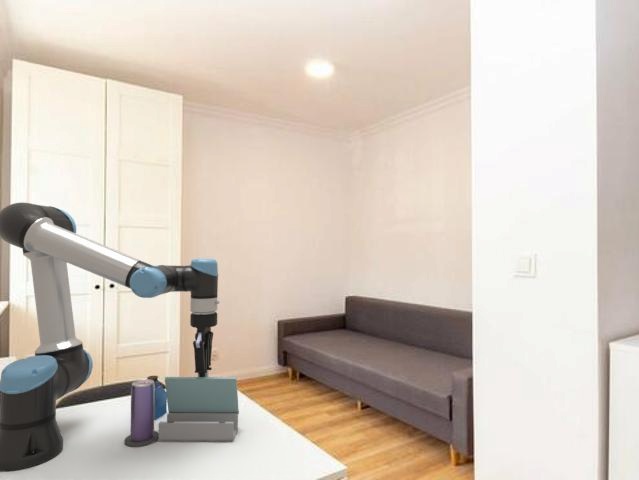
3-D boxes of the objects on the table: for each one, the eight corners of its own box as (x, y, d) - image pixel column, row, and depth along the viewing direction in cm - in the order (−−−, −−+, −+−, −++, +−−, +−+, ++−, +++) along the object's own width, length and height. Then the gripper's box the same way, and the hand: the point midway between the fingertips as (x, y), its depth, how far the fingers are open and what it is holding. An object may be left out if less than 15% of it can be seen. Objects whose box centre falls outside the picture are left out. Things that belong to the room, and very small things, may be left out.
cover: (164, 378, 114) (165, 376, 115) (168, 415, 117) (170, 412, 118) (235, 378, 114) (236, 376, 115) (238, 415, 117) (238, 412, 118)
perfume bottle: (166, 412, 130) (167, 374, 130) (155, 420, 124) (156, 380, 124) (148, 411, 131) (149, 373, 131) (136, 419, 125) (137, 379, 125)
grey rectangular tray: (158, 441, 110) (158, 422, 110) (168, 430, 117) (168, 411, 117) (232, 442, 110) (232, 422, 110) (237, 430, 117) (238, 412, 117)
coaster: (117, 447, 107) (117, 445, 107) (133, 431, 116) (133, 430, 116) (152, 447, 107) (152, 445, 107) (165, 432, 116) (165, 430, 116)
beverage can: (145, 443, 108) (146, 386, 108) (125, 441, 109) (126, 385, 109) (158, 433, 113) (159, 379, 114) (139, 431, 115) (140, 378, 115)
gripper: (211, 316, 111) (210, 402, 111) (222, 308, 124) (221, 386, 124) (183, 315, 111) (182, 402, 111) (197, 308, 124) (196, 386, 124)
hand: (203, 394), depth 117 cm, fingers closed
